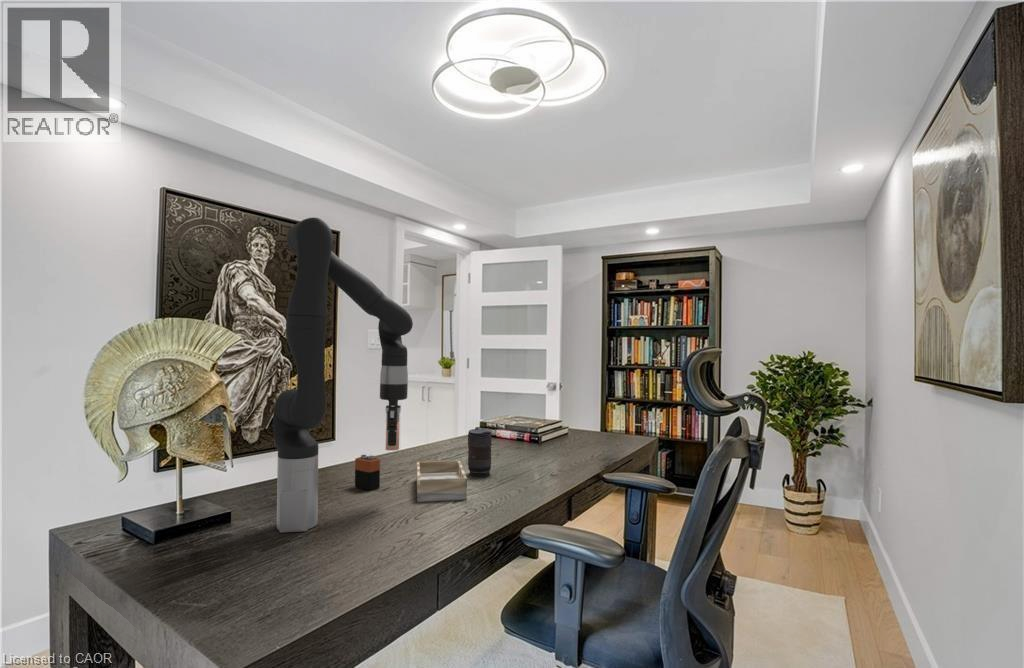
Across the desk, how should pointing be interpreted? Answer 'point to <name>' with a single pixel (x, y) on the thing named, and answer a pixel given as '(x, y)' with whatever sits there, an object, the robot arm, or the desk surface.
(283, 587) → the desk surface
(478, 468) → the camera lens
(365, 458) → the battery
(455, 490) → the box
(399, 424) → the peg
